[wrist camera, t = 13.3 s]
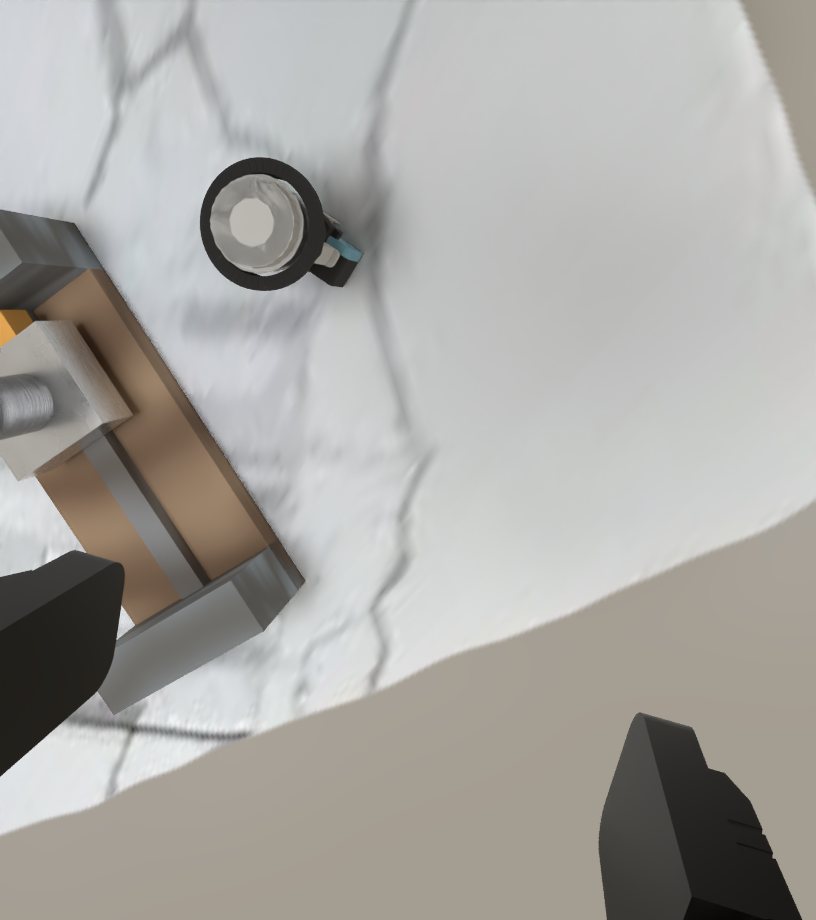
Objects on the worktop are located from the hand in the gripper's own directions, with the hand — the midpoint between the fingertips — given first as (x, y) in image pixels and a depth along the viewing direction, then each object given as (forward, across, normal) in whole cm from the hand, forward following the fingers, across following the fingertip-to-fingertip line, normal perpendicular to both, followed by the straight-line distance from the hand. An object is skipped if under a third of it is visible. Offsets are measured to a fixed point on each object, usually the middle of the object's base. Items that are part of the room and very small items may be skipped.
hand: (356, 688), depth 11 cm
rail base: (+30, +20, +7) cm, 37 cm away
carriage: (+28, +23, +4) cm, 36 cm away
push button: (+30, +11, -7) cm, 33 cm away
